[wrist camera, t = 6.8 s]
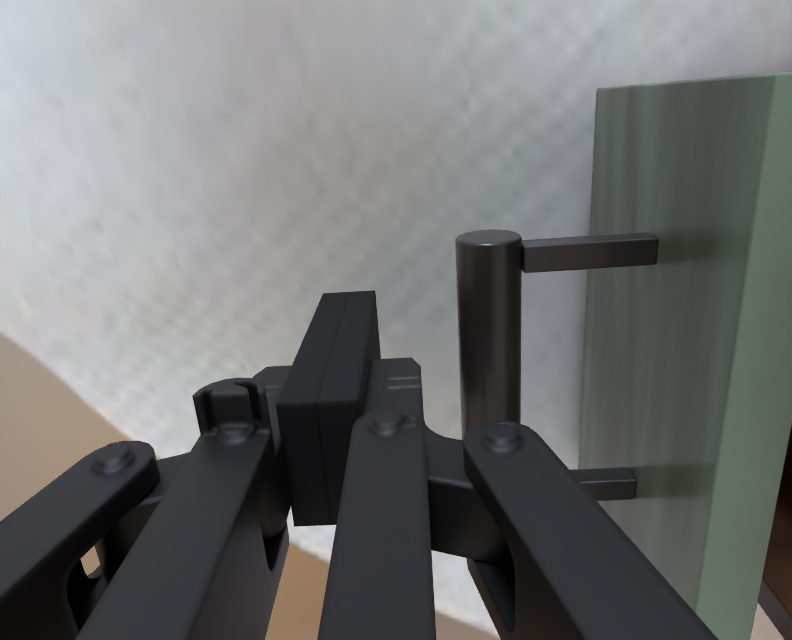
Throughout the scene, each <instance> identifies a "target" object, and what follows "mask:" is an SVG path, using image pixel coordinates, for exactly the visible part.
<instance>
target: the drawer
mask: <svg viewBox="0 0 792 640" xmlns="http://www.w3.org/2000/svg"><path fill="white" fill-rule="evenodd" d="M455 242H456V271H457V301H458V331H459V360H460V390H461V420H462V440H463V438H464V436H465V434H466V432H467V431H468V430H469V429H471V428H472V427H474V426H475V425H478V424H481V423H484V422H488V421H497V420H506V421H512V422H516V423H519V424H520V420H521V274H522V270H523V272H524V273H533V272H549V271H565V270H581V269H588V278H587V299H586V320H585V340H584V361H583V382H582V403H581V423H580V444H579V465H578V469H575V470H570V471H571V472H572V474H573V475H574V476H575V477H576V478H577V479H578V480H579V481H580V483H581V484H582V485H583V486H584V487H585V488H586V489H587V491H588V492H589V493H590V494H591V495H592V496H593V497H594V499H595V500H596V501H597V502H598V503H599V504H600V505H601V506H602V508H603V509H604V510H605V511H606V512H607V513H608V514H609V516H610V517H611V518H612V519H613V520H614V521H615V522H616V523H617V525H618V526H619V527H620V528H621V529H622V530H623V531H624V533H625V534H626V535H627V536H628V537H629V538H630V539H631V541H632V542H633V543H634V544H635V545H636V546H637V547H638V548H639V550H640V551H641V552H642V553H643V554H644V555H645V556H646V558H647V559H648V560H649V561H650V562H651V563H652V564H653V565H654V567H655V568H656V569H657V570H658V571H659V572H660V573H661V575H662V576H663V577H664V578H665V579H666V580H667V581H668V583H669V584H670V585H671V586H672V587H673V588H674V589H675V590H676V592H677V593H678V594H679V595H680V596H681V597H682V598H683V600H684V601H685V602H686V603H687V604H688V605H689V606H690V607H691V609H692V610H693V611H694V612H695V613H696V614H697V615H698V617H699V618H700V619H701V620H702V621H703V622H704V623H705V625H706V626H707V627H708V628H709V629H710V630H711V631H712V632H713V634H714V635H715V636H716V637H717V638H718V639H719V640H750V637H751V632H752V627H753V622H754V616H755V611H756V606H757V602H758V603H759V604H760V606H761V607H762V609H763V610H764V611H765V613H766V614H767V616H768V617H769V618H770V620H771V621H772V623H773V624H774V625H775V627H776V628H777V630H778V631H779V633H780V634H781V635H782V637H783V638H784V640H792V71H788V72H775V73H764V74H753V75H741V76H730V77H719V78H708V79H697V80H686V81H675V82H664V83H653V84H641V85H630V86H619V87H608V88H598V89H597V91H596V112H595V133H594V153H593V174H592V195H591V216H590V236H581V237H565V238H550V239H534V240H522V238H521V236H520V234H518V233H515V232H512V231H506V230H479V231H472V232H467V233H464V234H461V235H459V236H458V237H457V238H456V241H455Z"/></svg>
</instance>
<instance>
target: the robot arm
mask: <svg viewBox="0 0 792 640" xmlns="http://www.w3.org/2000/svg"><path fill="white" fill-rule="evenodd" d="M193 400H194V405H195V410H196V415H197V419H198V424H199V429H200V434H201V435H200V437H199V439H198V440H197V442H196V444H195V445H194V447H193V448H192V450H191V452H189V453H185V454H182V455H178V456H173V457H169V458H164V459H160V460H156V456H155V452H154V449H153V448H152V447H151V445H150V444H149V443H145V442H141V441H121V442H118V443H116V442H115V443H111V444H108V445H107V446H106V447H103V448H100V449H98V450H95V451H94V452H92V453H90V454H89V455H87V456H85V457H84V458H82V459H81V460H80V461H78V462H77V463H76V464H75V465H73V466H72V467H71V468H69V469H68V470H67V471H66V472H64V473H63V474H62V475H60V476H59V477H58V478H56V479H55V480H54V481H52V482H51V483H50V484H49V485H47V486H46V487H45V488H43V489H42V490H41V491H40V492H38V493H37V494H36V495H34V496H33V497H32V498H30V499H29V500H28V501H26V502H25V503H24V504H23V505H21V506H20V507H19V508H17V509H16V510H15V511H13V512H12V513H11V514H9V515H8V516H7V517H6V518H4V519H3V520H2V521H0V640H265V636H266V632H267V628H268V624H269V621H270V617H271V613H272V609H273V605H274V601H275V597H276V594H277V589H278V586H279V582H280V578H281V574H282V570H283V566H284V563H285V559H286V555H287V551H288V547H289V534H288V527H287V521H286V520H287V517H288V513H289V510H290V506H291V508H292V515H293V521H294V526H316V525H336V531H335V537H334V543H333V549H332V555H331V561H330V567H329V573H328V579H327V585H326V592H325V597H324V603H323V609H322V615H321V621H320V627H319V633H318V639H317V640H436V628H435V627H436V626H435V608H434V590H433V573H432V555H431V550H433V551H438V552H443V553H447V554H452V555H456V556H461V557H465V558H466V559H467V565H468V570H469V572H470V574H471V576H472V578H473V580H474V583H475V585H476V587H477V589H478V591H479V593H480V595H481V598H482V600H483V602H484V604H485V606H486V608H487V610H488V613H489V615H490V617H491V619H492V621H493V623H494V626H495V628H496V630H497V632H498V634H499V636H500V638H501V640H719V639H718V638H717V637H716V636H715V635H714V634H713V632H712V631H711V630H710V629H709V628H708V627H707V626H706V625H705V623H704V622H703V621H702V620H701V619H700V618H699V617H698V615H697V614H696V613H695V612H694V611H693V610H692V609H691V607H690V606H689V605H688V604H687V603H686V602H685V601H684V600H683V598H682V597H681V596H680V595H679V594H678V593H677V592H676V590H675V589H674V588H673V587H672V586H671V585H670V584H669V583H668V581H667V580H666V579H665V578H664V577H663V576H662V575H661V573H660V572H659V571H658V570H657V569H656V568H655V567H654V565H653V564H652V563H651V562H650V561H649V560H648V559H647V558H646V556H645V555H644V554H643V553H642V552H641V551H640V550H639V548H638V547H637V546H636V545H635V544H634V543H633V542H632V541H631V539H630V538H629V537H628V536H627V535H626V534H625V533H624V531H623V530H622V529H621V528H620V527H619V526H618V525H617V523H616V522H615V521H614V520H613V519H612V518H611V517H610V516H609V514H608V513H607V512H606V511H605V510H604V509H603V508H602V506H601V505H600V504H599V503H598V502H597V501H596V500H595V499H594V497H593V496H592V495H591V494H590V493H589V492H588V491H587V489H586V488H585V487H584V486H583V485H582V484H581V483H580V481H579V480H578V479H577V478H576V477H575V476H574V475H573V474H572V472H571V471H570V470H569V469H568V468H567V467H566V466H565V464H564V463H563V462H562V461H561V460H560V459H559V458H558V457H557V455H556V454H555V453H554V452H553V451H552V450H551V449H550V447H549V446H548V445H547V444H546V443H545V442H544V441H543V439H542V438H541V437H540V436H539V435H538V434H537V433H536V432H534V431H533V430H532V429H530V428H529V427H527V426H524V425H522V424H519V423H516V422H512V421H506V420H497V421H488V422H484V423H481V424H478V425H475V426H474V427H472V428H471V429H469V430H468V431H467V432H466V434H465V436H464V438H463V440H456V439H451V438H447V437H443V436H441V435H438V434H436V433H434V432H433V431H431V430H430V429H429V428H428V427H427V426H426V424H425V421H424V415H423V399H422V382H421V366H420V365H419V364H418V363H417V362H416V361H414V360H413V359H412V358H394V359H381V356H380V344H379V331H378V319H377V307H376V295H375V291H358V292H341V293H323V295H322V298H321V300H320V302H319V305H318V307H317V309H316V312H315V314H314V316H313V318H312V321H311V323H310V325H309V328H308V330H307V332H306V335H305V337H304V339H303V342H302V344H301V346H300V348H299V351H298V353H297V355H296V358H295V360H294V362H293V365H292V366H274V367H266V368H265V369H263V370H262V371H260V372H259V373H258V374H256V375H255V376H254V377H253V378H232V379H225V380H221V381H218V382H214V383H211V384H209V385H207V386H205V387H203V388H201V389H199V390H198V391H197V392H196V393H195V394H194V395H193ZM94 545H95V548H96V552H97V555H98V558H99V561H100V566H99V567H98V568H97V569H96V570H95V571H94V572H92V573H91V574H89V575H88V576H87V575H86V573H85V572H84V569H83V566H82V562H81V560H80V559H81V557H83V556H84V555H85V554H86V553H87V552H88V551H89V550H90V549H91V548H92V547H93V546H94Z"/></svg>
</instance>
